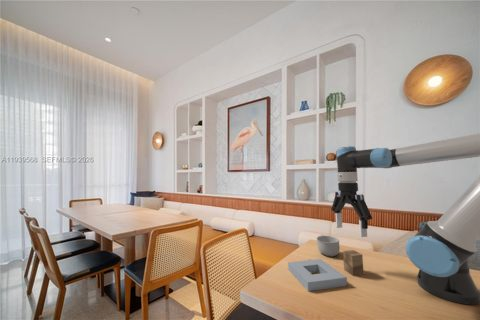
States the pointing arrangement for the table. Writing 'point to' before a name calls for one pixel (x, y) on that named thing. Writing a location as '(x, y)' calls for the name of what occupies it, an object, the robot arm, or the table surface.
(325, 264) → the housing
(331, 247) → the teacup
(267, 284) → the table surface
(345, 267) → the peg
